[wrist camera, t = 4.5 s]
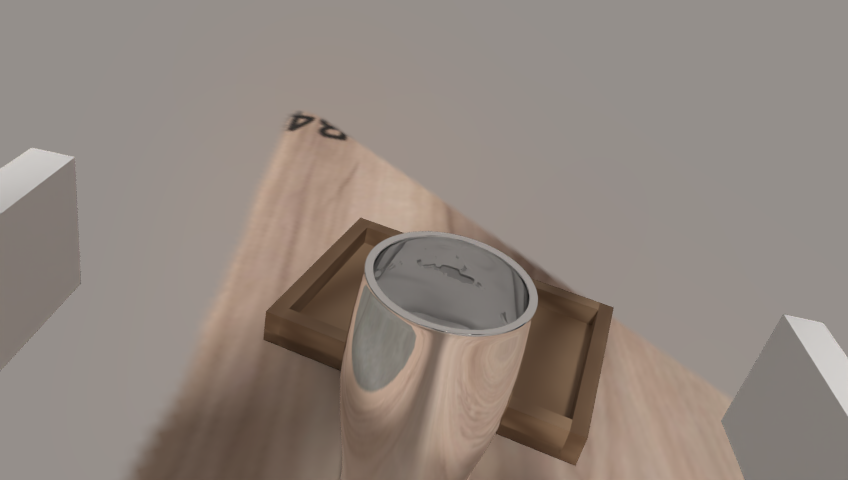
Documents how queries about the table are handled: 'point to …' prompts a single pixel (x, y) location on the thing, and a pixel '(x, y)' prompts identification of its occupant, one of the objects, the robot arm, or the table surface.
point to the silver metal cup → (431, 356)
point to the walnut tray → (542, 365)
